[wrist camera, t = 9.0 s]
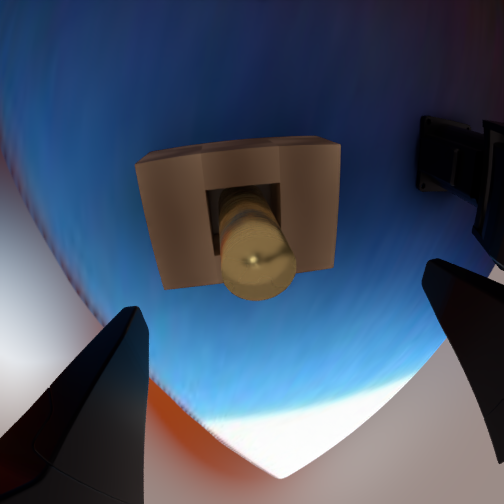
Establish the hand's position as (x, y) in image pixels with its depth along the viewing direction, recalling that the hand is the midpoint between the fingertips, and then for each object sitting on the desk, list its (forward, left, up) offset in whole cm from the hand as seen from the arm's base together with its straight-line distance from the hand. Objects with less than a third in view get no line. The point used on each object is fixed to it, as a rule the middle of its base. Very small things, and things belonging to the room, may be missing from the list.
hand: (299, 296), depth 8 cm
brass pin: (+1, +1, -11) cm, 11 cm away
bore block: (+1, +1, -13) cm, 13 cm away
